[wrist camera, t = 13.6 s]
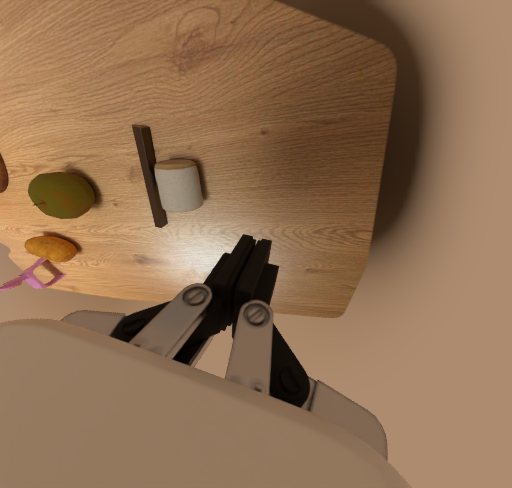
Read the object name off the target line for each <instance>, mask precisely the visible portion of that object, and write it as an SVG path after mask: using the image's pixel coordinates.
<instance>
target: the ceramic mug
mask: <svg viewBox="0 0 512 488" xmlns="http://www.w3.org/2000/svg"><path fill="white" fill-rule="evenodd" d="M154 170H155V177H156V181H157V185H158V190H159V195H160V200H161V204H162V208H163V209H164V210H166V211H169V212H187V211H192V210H195V209H197V208H199V207H201V206H202V205H203V197H202V192H201V186H200V180H199V174H198V169H197V166H196V164H195V163H194V162H193V161H192V160H186V159H174V160H164V161H160V162H157V163H156V164H155V168H154Z"/></svg>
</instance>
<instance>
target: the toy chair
mask: <svg viewBox="0 0 512 488" xmlns="http://www.w3.org/2000/svg"><path fill="white" fill-rule="evenodd" d="M45 260H47V259H44V258H41V259H39V260H38V261H37V262H36V263H35V264H34V265H32V266H31V267H29V268H28V269H26V270H25V271H23V273H22V274H21V275H19V276H20V277H18V278H16V279H14V280H11V281H9V282H7V283H4V284H3V285H4V286H2V287H0V291H4V290H8V289H11V288H13V287H15V286H18V285H21V284H22V283H21V282H22V281H23V280H25V281H27V282H28V283H29V284H30V285H31V286H32V287H33V288H34V289H38V288H45V287H47V286H51V285H52V284H54V283H55V282H57V281H58V280H60V279H61V278H62V277H64V276H65V275H66V274H60V275H56V276H55V277H54V278H53V279H52V280H51V281H50V282H48V283H47V284H43V283H42V282H41V281H39V280H38V279H37V278H36V277H35V275H34V274H33V270H34V269H35V268H36V267H38V266H39V265H40V264H41V263H43V262H44V261H45Z"/></svg>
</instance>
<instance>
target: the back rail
mask: <svg viewBox="0 0 512 488" xmlns="http://www.w3.org/2000/svg"><path fill="white" fill-rule="evenodd" d="M132 128H133V132H134V136H135V141H136V145H137V149H138V154H139V158H140V162H141V167H142V171H143V175H144V180H145V184H146V188H147V193H148V197H149V201H150V205H151V210H152V214H153V218H154V223H155V227H159V228H162V227H163V226H165V225H166V224H168V222H167V217H166V212H165V210H164V209H163V208H162V204H161V200H160V195H159V190H158V185H157V181H156V177H155V170H154V168H155V164H156V158H155V153H154V148H153V142H152V137H151V132H150V127H146V126H140V125H132Z"/></svg>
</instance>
